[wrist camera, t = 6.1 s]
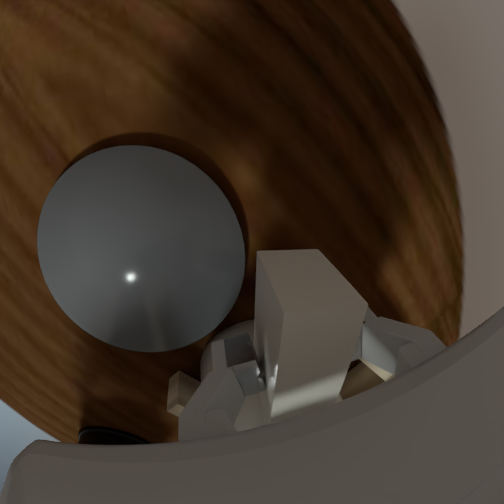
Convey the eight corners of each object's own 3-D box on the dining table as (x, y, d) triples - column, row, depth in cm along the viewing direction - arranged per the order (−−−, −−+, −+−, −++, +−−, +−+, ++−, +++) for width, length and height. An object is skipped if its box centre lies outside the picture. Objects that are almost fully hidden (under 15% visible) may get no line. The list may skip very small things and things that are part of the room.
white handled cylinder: (308, 392, 20) (348, 496, 11) (203, 403, 19) (212, 520, 10) (341, 220, 15) (478, 325, 6) (183, 222, 13) (147, 381, 4)
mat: (289, 253, 15) (292, 257, 15) (157, 372, 17) (157, 378, 17) (122, 97, 11) (118, 95, 10) (18, 264, 13) (13, 268, 12)
